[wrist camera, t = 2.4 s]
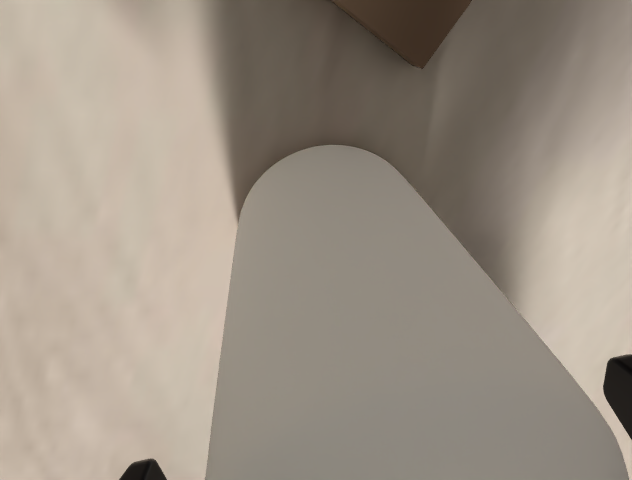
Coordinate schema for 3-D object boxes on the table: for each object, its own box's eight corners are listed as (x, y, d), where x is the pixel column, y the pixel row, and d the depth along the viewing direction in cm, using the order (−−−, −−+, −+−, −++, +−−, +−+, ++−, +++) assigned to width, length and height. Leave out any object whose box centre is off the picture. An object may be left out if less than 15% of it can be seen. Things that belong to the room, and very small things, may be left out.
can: (222, 285, 16) (146, 774, 6) (260, 118, 14) (242, 469, 3) (380, 313, 18) (547, 748, 7) (442, 165, 15) (851, 519, 5)
